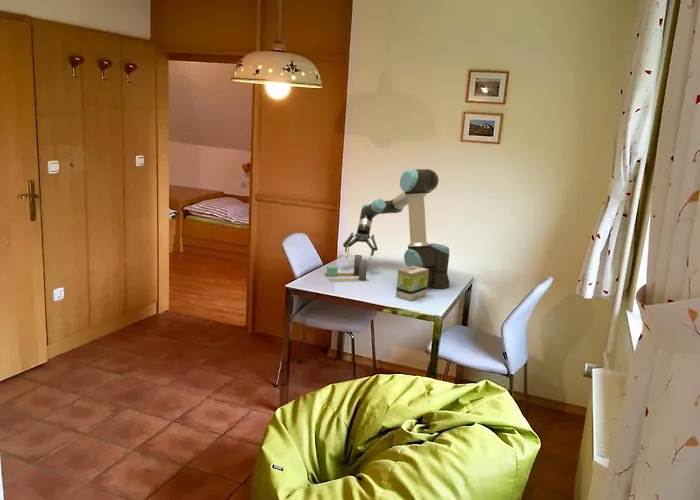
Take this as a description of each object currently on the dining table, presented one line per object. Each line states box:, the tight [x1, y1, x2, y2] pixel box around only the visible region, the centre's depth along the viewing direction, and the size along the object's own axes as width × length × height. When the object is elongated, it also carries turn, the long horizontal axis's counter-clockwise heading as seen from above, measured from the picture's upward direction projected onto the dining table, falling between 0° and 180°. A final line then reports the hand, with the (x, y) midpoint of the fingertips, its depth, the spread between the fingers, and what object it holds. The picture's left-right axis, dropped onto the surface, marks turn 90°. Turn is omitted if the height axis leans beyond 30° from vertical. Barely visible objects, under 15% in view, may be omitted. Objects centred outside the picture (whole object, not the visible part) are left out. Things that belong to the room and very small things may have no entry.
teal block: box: [326, 264, 339, 276], centre depth 347 cm, size 5×5×5 cm
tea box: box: [395, 266, 429, 302], centre depth 320 cm, size 15×10×15 cm
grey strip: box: [327, 259, 370, 283], centre depth 339 cm, size 7×22×12 cm, turn 106°
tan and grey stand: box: [323, 254, 363, 278], centre depth 348 cm, size 7×22×12 cm, turn 106°
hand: (357, 258), depth 354 cm, fingers open, 13 cm apart
